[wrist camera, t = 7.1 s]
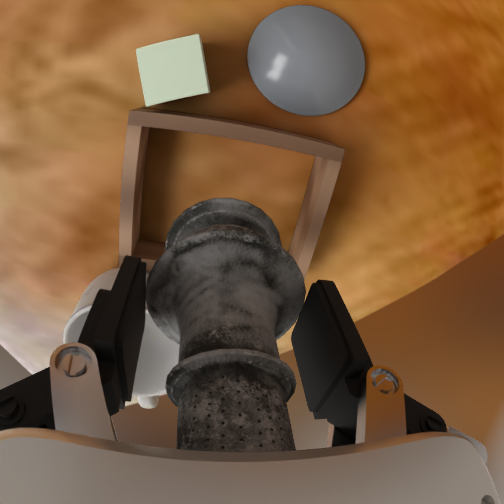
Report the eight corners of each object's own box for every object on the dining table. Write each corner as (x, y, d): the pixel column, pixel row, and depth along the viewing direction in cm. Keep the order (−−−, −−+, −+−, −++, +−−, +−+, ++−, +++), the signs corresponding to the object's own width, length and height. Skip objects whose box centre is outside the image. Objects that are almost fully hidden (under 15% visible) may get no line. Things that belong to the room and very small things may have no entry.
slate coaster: (261, -6, 17) (262, -8, 17) (371, 29, 19) (374, 28, 18) (235, 100, 21) (236, 101, 21) (347, 128, 23) (350, 129, 22)
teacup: (86, 243, 26) (50, 295, 19) (203, 258, 27) (199, 318, 20) (99, 350, 32) (82, 406, 25) (191, 363, 34) (189, 422, 27)
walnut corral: (140, 108, 21) (129, 110, 18) (331, 142, 23) (345, 149, 21) (128, 248, 26) (119, 266, 24) (293, 271, 29) (300, 289, 26)
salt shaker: (183, 170, 12) (107, 531, 2) (310, 219, 14) (444, 497, 4) (145, 281, 15) (100, 543, 5) (254, 313, 17) (293, 551, 6)
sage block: (149, 55, 19) (135, 49, 15) (202, 43, 19) (198, 33, 16) (158, 104, 21) (146, 106, 17) (210, 92, 21) (208, 92, 17)
